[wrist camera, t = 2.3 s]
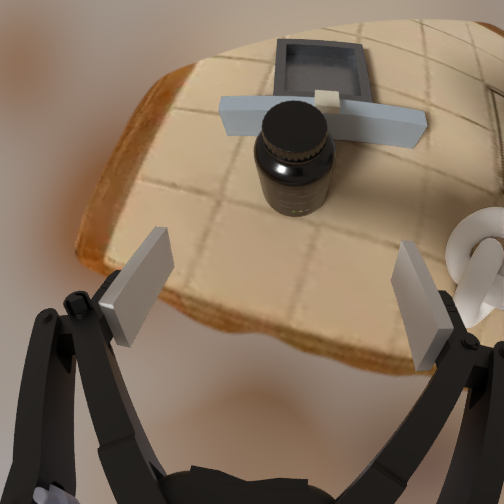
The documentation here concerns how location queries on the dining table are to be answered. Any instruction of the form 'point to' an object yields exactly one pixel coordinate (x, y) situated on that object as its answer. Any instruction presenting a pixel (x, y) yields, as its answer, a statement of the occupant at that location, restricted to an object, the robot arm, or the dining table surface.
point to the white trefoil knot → (477, 264)
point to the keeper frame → (321, 69)
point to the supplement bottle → (294, 158)
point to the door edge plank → (331, 118)
